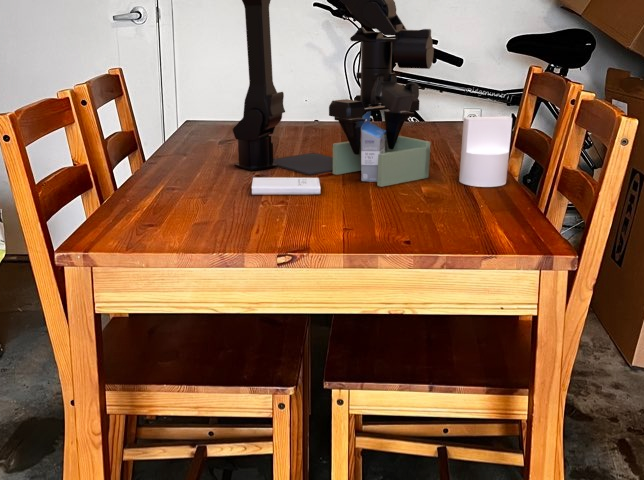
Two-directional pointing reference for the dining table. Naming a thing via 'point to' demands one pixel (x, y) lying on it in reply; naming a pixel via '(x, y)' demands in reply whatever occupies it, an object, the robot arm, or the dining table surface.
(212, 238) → the dining table surface
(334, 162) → the u-shaped bracket
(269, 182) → the hard drive
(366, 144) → the label tape box
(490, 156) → the cylinder with rectangular tab
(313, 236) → the dining table surface
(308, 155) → the mat
